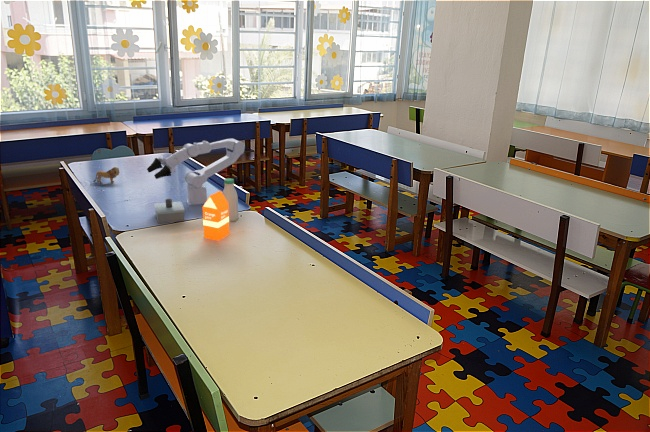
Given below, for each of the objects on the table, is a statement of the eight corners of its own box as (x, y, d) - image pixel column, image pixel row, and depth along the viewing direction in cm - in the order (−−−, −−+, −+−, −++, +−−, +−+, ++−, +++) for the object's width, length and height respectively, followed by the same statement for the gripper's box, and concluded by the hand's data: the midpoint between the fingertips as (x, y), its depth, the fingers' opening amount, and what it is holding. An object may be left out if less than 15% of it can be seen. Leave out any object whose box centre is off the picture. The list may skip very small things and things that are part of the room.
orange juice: (203, 237, 220) (201, 194, 213) (215, 230, 228) (213, 188, 221) (219, 241, 218) (217, 197, 210) (229, 233, 225) (228, 191, 218)
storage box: (181, 212, 247) (180, 203, 245) (184, 221, 237) (184, 211, 235) (155, 215, 242) (154, 205, 241) (158, 224, 232) (157, 214, 230)
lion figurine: (121, 180, 291) (119, 165, 288) (119, 183, 286) (118, 168, 283) (94, 181, 288) (92, 166, 285) (92, 184, 283) (90, 168, 280)
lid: (181, 204, 246) (180, 194, 244) (184, 213, 235) (184, 202, 233) (154, 207, 241) (153, 196, 239) (156, 216, 230) (155, 205, 228)
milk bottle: (241, 219, 242) (240, 179, 235) (228, 223, 237) (227, 182, 230) (231, 215, 247) (230, 176, 240) (218, 218, 242) (217, 179, 234)
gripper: (165, 147, 249) (141, 161, 243) (179, 158, 240) (155, 173, 235) (170, 158, 254) (147, 172, 248) (184, 170, 245) (161, 184, 240)
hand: (151, 173), depth 242 cm, fingers open, 7 cm apart
